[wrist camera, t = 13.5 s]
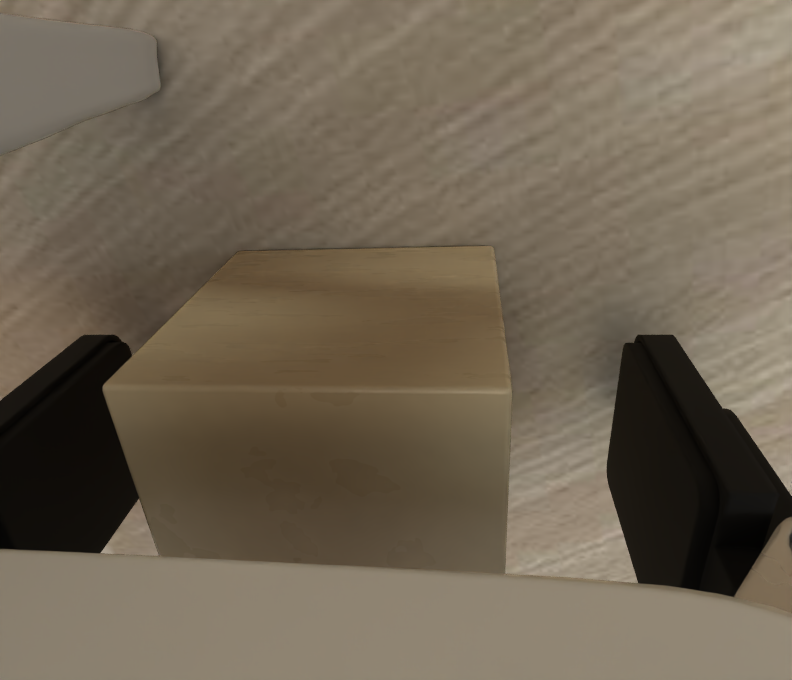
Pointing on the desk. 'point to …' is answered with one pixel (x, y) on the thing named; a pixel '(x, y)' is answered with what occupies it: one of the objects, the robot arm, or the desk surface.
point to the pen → (68, 75)
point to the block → (327, 412)
